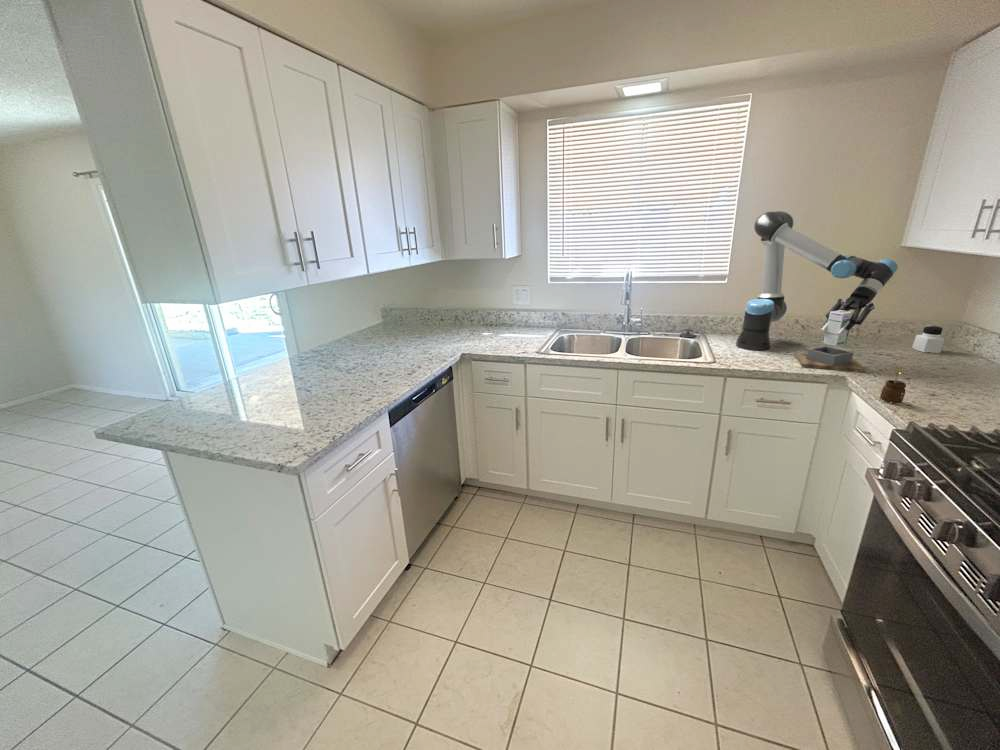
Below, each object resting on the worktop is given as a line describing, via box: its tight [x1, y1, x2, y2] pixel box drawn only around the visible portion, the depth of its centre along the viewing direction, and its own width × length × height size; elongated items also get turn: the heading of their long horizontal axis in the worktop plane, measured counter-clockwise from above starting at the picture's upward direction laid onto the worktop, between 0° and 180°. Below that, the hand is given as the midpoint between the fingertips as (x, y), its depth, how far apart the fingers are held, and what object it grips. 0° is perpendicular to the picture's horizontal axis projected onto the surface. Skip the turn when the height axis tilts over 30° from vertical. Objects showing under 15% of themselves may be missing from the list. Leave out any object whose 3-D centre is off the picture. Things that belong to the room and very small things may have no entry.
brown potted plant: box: [879, 365, 907, 404], centre depth 145 cm, size 6×6×12 cm
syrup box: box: [823, 310, 854, 347], centre depth 179 cm, size 6×6×14 cm
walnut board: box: [793, 352, 866, 373], centre depth 185 cm, size 22×17×2 cm
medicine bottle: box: [911, 325, 946, 354], centre depth 195 cm, size 7×7×12 cm
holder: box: [806, 345, 854, 366], centre depth 184 cm, size 12×12×4 cm
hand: (831, 333), depth 179 cm, fingers closed on syrup box, 6 cm apart
